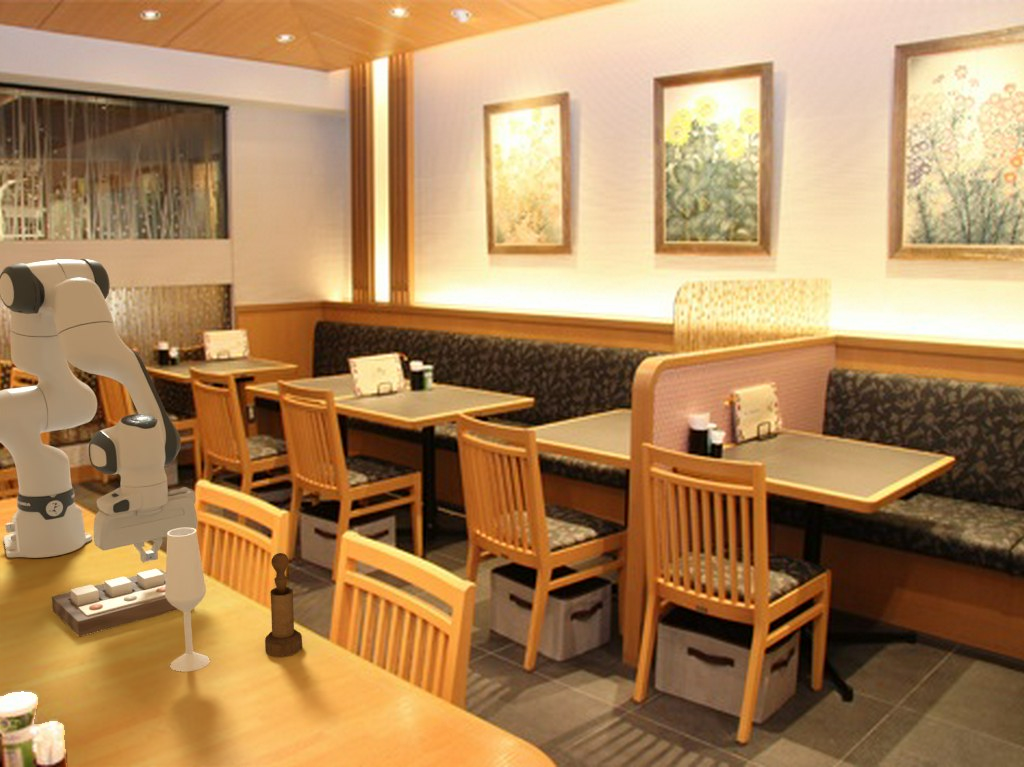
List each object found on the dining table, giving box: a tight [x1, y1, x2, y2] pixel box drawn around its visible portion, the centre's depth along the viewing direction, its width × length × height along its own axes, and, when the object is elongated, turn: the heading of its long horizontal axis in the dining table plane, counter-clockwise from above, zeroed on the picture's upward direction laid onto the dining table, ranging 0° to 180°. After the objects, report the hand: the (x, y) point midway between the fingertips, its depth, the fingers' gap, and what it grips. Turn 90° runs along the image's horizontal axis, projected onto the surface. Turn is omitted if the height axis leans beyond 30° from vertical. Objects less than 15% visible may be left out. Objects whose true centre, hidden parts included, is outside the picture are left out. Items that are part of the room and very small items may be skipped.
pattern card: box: [78, 585, 165, 616], centre depth 188 cm, size 5×18×1 cm, turn 132°
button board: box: [51, 569, 178, 637], centre depth 192 cm, size 16×22×3 cm
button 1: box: [70, 583, 99, 607], centre depth 189 cm, size 4×4×3 cm
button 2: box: [136, 568, 164, 589], centre depth 197 cm, size 4×4×3 cm
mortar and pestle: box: [264, 552, 303, 658], centre depth 172 cm, size 7×6×18 cm
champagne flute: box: [165, 528, 211, 673], centre depth 166 cm, size 7×7×24 cm
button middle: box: [103, 576, 133, 598], centre depth 193 cm, size 4×4×3 cm
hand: (149, 560), depth 196 cm, fingers closed
